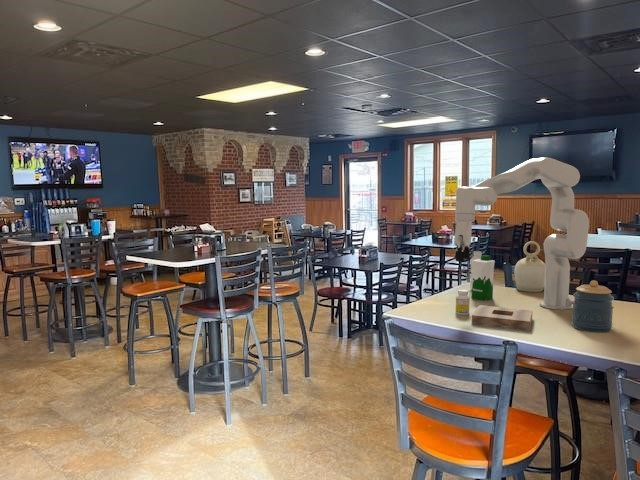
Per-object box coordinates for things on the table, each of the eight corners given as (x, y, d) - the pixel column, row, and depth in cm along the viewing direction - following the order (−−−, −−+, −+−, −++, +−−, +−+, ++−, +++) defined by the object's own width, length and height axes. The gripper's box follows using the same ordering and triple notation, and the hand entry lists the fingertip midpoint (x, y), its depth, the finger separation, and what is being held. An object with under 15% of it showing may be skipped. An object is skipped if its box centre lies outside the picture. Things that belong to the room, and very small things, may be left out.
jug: (544, 294, 231) (546, 243, 229) (510, 290, 240) (512, 241, 237) (548, 288, 244) (550, 240, 242) (516, 285, 252) (518, 239, 250)
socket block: (532, 319, 185) (532, 310, 185) (529, 331, 169) (529, 321, 169) (478, 313, 194) (479, 305, 194) (471, 324, 178) (471, 315, 178)
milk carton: (495, 298, 222) (496, 256, 220) (485, 301, 216) (487, 257, 214) (478, 295, 228) (479, 254, 226) (468, 298, 222) (469, 256, 220)
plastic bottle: (484, 292, 236) (485, 252, 234) (470, 291, 237) (471, 252, 235) (482, 289, 242) (483, 250, 240) (468, 289, 243) (469, 250, 241)
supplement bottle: (465, 315, 190) (466, 292, 189) (453, 313, 194) (454, 290, 193) (471, 313, 194) (472, 290, 193) (458, 311, 198) (459, 288, 197)
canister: (573, 330, 170) (576, 282, 168) (569, 321, 182) (571, 276, 180) (615, 334, 165) (618, 284, 163) (608, 325, 177) (611, 278, 175)
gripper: (460, 216, 200) (458, 257, 201) (450, 218, 185) (447, 261, 186) (478, 217, 196) (476, 258, 198) (469, 218, 181) (467, 263, 183)
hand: (462, 260), depth 192 cm, fingers open, 9 cm apart
